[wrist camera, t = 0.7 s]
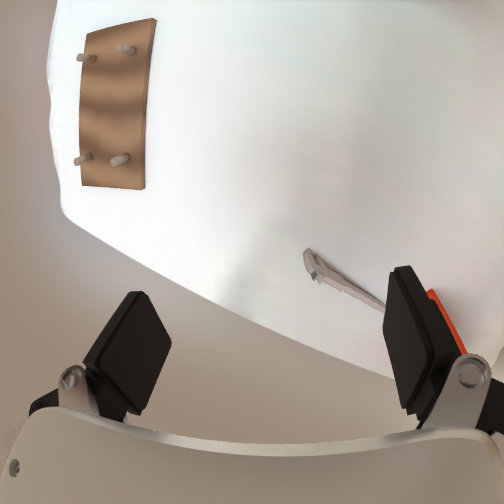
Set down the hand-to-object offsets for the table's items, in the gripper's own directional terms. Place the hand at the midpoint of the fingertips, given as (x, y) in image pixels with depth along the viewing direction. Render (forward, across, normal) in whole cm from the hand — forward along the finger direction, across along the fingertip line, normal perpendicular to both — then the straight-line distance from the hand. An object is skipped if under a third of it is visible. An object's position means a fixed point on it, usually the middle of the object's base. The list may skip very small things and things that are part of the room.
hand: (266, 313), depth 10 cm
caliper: (+28, -8, +21) cm, 36 cm away
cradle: (+28, +22, -14) cm, 39 cm away
